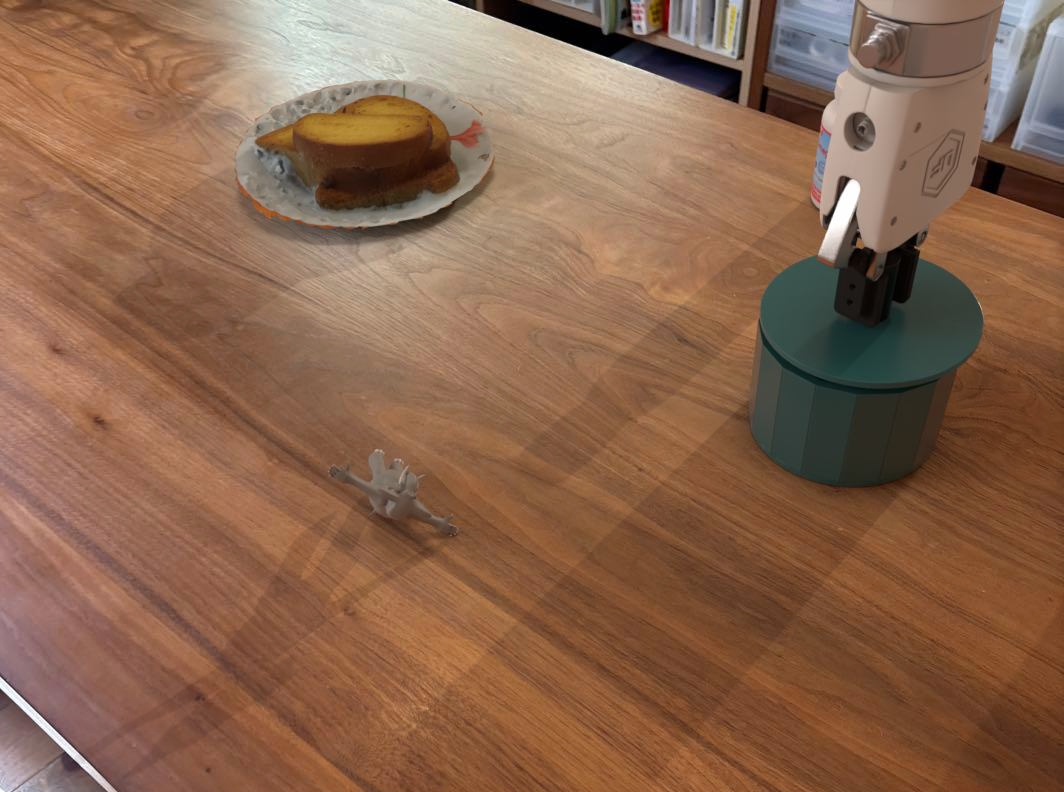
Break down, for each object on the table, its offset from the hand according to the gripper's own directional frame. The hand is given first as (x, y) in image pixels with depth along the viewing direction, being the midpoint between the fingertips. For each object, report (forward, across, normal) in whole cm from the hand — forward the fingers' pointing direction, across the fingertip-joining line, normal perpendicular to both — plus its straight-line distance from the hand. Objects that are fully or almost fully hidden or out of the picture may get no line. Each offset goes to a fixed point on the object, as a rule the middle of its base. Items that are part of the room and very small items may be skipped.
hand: (871, 304), depth 74 cm
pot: (+10, 0, 0) cm, 10 cm away
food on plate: (+10, -2, +55) cm, 56 cm away
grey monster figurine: (+10, -30, +17) cm, 36 cm away
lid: (+1, 0, 0) cm, 1 cm away
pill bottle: (+11, +24, +17) cm, 31 cm away
